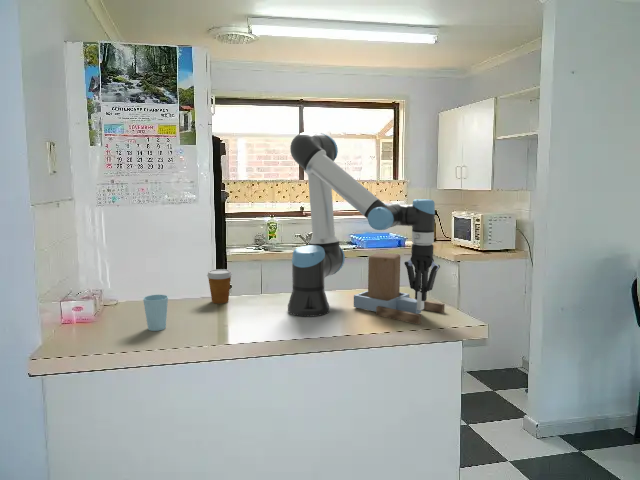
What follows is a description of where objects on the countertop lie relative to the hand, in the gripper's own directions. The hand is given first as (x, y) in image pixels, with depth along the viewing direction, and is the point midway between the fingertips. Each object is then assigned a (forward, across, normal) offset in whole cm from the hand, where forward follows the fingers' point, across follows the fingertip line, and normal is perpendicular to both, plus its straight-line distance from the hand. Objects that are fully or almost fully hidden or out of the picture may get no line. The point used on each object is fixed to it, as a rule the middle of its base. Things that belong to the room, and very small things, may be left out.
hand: (420, 309), depth 184 cm
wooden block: (+3, -16, +1) cm, 16 cm away
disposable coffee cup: (+3, -69, -33) cm, 77 cm away
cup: (+3, -59, -68) cm, 90 cm away
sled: (+2, -12, 0) cm, 12 cm away
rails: (+2, -4, 0) cm, 5 cm away
